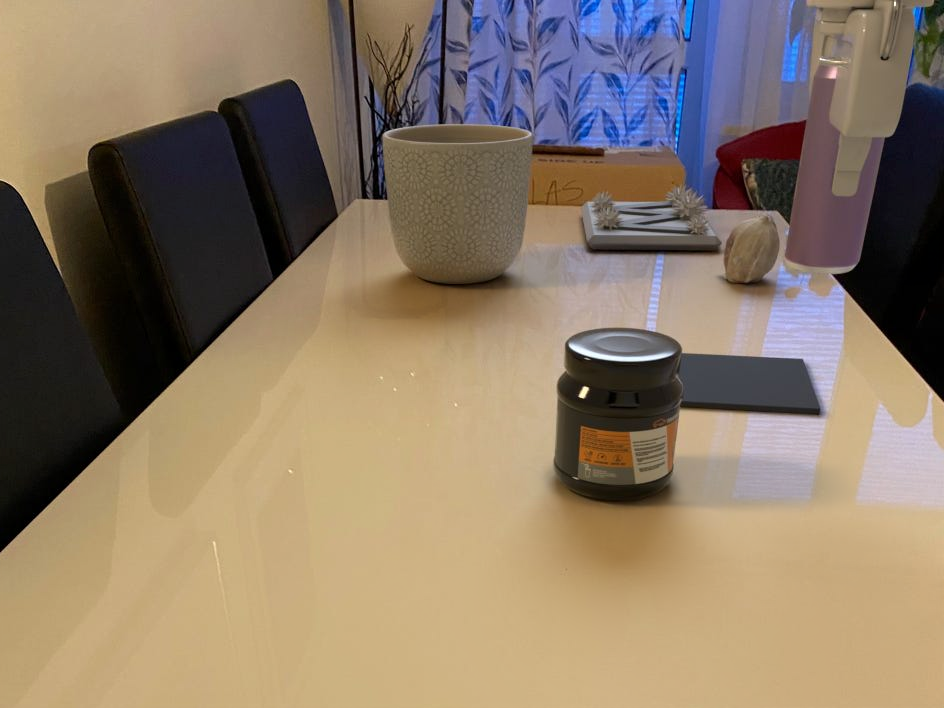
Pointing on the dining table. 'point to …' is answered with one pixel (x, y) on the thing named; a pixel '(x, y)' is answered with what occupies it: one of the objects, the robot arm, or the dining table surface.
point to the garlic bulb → (751, 249)
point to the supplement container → (618, 413)
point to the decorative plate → (649, 224)
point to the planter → (457, 198)
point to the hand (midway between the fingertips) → (835, 186)
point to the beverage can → (827, 191)
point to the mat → (747, 383)
